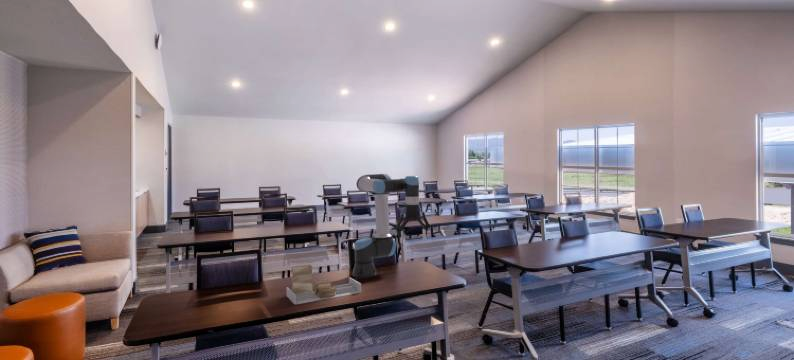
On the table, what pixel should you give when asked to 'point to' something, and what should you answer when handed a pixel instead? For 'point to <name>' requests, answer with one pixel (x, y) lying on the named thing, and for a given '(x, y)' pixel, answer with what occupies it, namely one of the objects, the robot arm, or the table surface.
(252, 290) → the table surface
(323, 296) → the offcut bottom
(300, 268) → the tan wooden block
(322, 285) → the offcut top
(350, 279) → the rack
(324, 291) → the offcut middle
